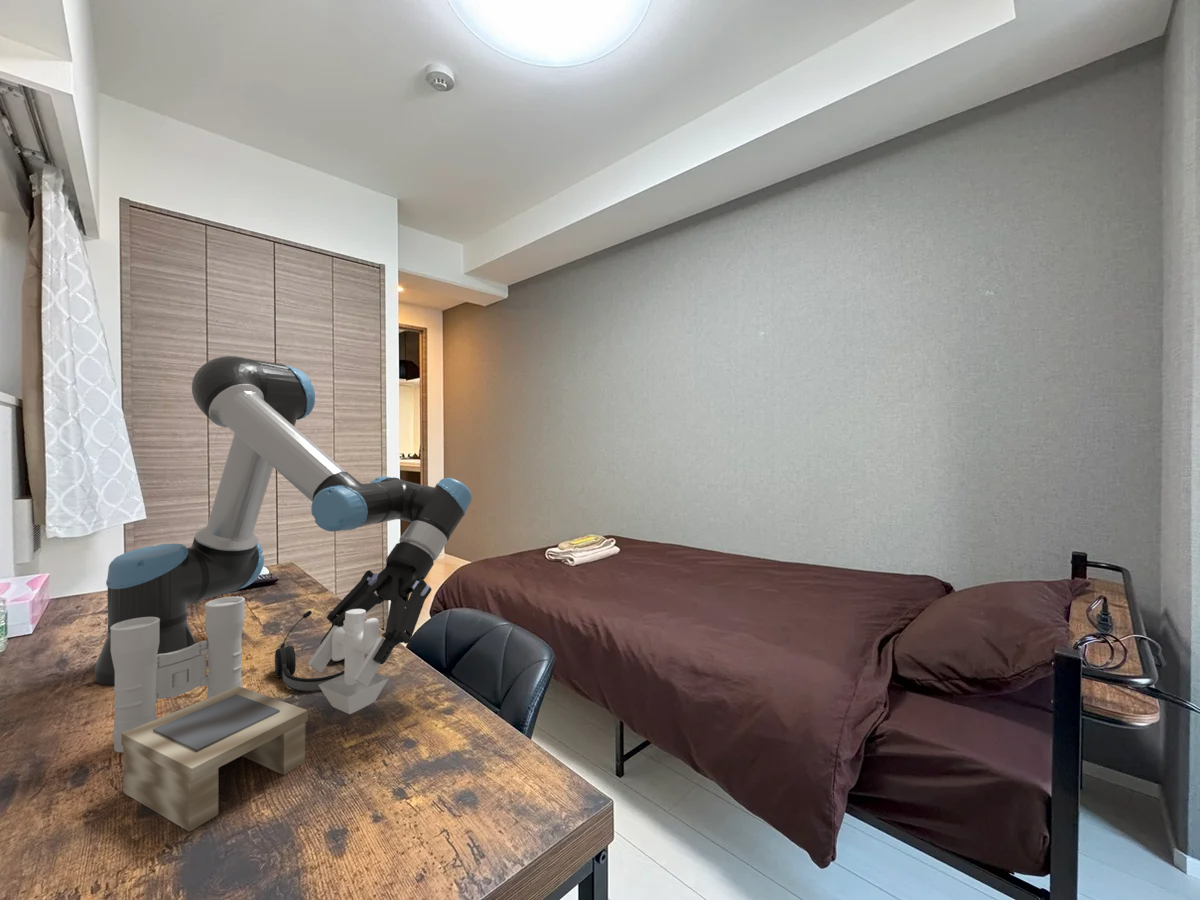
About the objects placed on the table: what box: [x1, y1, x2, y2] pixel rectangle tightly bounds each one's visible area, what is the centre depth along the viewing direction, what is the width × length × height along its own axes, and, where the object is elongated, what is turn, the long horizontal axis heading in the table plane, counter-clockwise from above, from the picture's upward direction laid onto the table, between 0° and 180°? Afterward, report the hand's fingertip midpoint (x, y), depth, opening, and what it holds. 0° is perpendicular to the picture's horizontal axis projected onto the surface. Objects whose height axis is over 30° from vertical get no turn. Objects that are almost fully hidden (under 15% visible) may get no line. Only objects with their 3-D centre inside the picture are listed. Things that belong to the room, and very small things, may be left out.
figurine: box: [318, 609, 389, 715], centre depth 79 cm, size 7×9×15 cm
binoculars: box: [110, 596, 246, 753], centre depth 80 cm, size 17×5×18 cm, turn 152°
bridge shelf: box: [121, 686, 309, 833], centre depth 67 cm, size 16×14×8 cm
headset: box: [274, 610, 345, 693], centre depth 98 cm, size 13×9×19 cm
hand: (336, 675), depth 76 cm, fingers closed on figurine, 9 cm apart
